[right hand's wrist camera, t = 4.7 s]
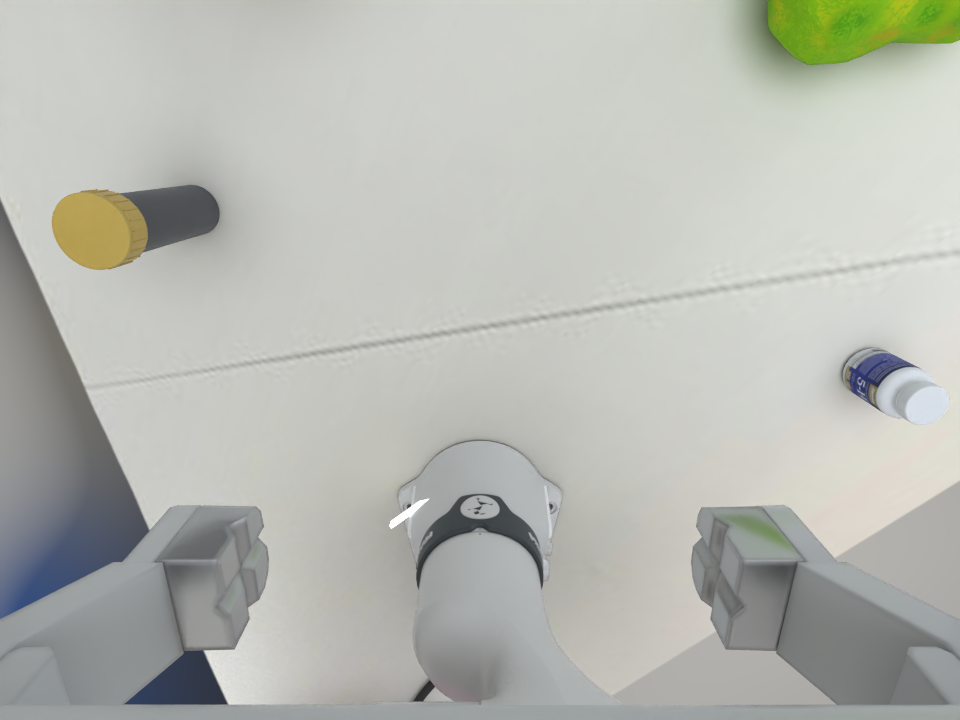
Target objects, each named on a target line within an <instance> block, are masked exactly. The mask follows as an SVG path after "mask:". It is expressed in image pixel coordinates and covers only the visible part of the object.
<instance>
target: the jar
mask: <svg viewBox="0 0 960 720" xmlns="http://www.w3.org/2000/svg"><path fill="white" fill-rule="evenodd" d="M120 195H122V196H124V197H126V198H127V199H129V200H130V201H131V202H132V203H133V204H134V205H135V206H136V207H138V209H139V211H140V212H141V214H142V216H143V217H144V220H145V222H146V226H147V228H148V229H147V232H148V240H147V244H146V247H145V249H144V251H143V252H146V251H149V250H153V249H156V248H159V247H162V246H166V245H169V244H172V243H176V242H179V241H182V240H185V239H189V238H192V237H195V236H199V235H202V234H205V233H208V232H210V231H211V230H213V229H214V227H215V226H216V225H217V223H218V220H219V208H218V205H217V202H216V200H215V199H214V197H213V196H212V195H211V194H210V193H209V192H208V191H207V190H205V189H203V188H201V187H199V186H195V185H186V186H178V187H170V188H162V189H153V190H145V191H137V192H128V193H120ZM143 252H142V253H143Z"/></svg>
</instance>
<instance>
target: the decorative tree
mask: <svg viewBox="0 0 960 720" xmlns="http://www.w3.org/2000/svg"><path fill="white" fill-rule="evenodd" d="M768 28H769V30H770V32H771V33H772V35H773V36H774V37H775V38H776V39H777V40H778V41H779V42H780V43H781V45H782V46H783V47H784V48H785V49H786V50H787V51H788V52H789V53H790V54H791V55H792V56H793V57H794V58H795V59H797V60H799V61H801V62H803V63H805V64H808V65H817V64H833V63H843V62H848V61H850V60H853V59H855V58H858V57H861V56H863V55H865V54H867V53H869V52H872V51H874V50H876V49H878V48H880V47H882V46H884V45H887V44H889V43H892V42H897V43H934V44H937V43H953V42H956V41H958V40H960V0H768Z"/></svg>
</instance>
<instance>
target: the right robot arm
mask: <svg viewBox="0 0 960 720" xmlns="http://www.w3.org/2000/svg"><path fill="white" fill-rule="evenodd" d="M398 502H399V506H400V509H401V513H402V514H401V515H399V516H398V517H396V518H395V519H394V520H392V521H391V523H390V527H391V528H393V527H394V526H396V525H397V524H398V523H400V522H401V521H403V520H404V523H405V527H406V530H407V534H408V537H409V540H410V544H411V547H412V551H413V554H414V558H415V561H416V569H417V573H416V574H417V578H416V579H417V586H418V589H419V591H418V599H417V606H416V613H415V620H414V628H413V645H414V650H415V654H416V657H417V659H418V661H419V664H420V665H421V667H422V669H423V670H424V672H425V674H426V675H427V677H428V678H429V679H430V681H429V682H428V684H427V685H426V686H425V687H424V688H423V689H422V691H421V692H420V693H419V694H418V696H417V697H416V699H415V701H414V702H378V703H373V704H368V705H123V704H124V703H126V702H127V701H128V700H129V699H130V698H132V697H133V696H134V695H135V694H136V693H137V692H139V691H140V690H141V689H142V688H143V687H145V686H146V685H147V684H148V683H149V682H151V681H152V680H153V679H154V678H155V677H156V676H158V675H159V674H160V673H161V672H162V671H164V670H165V669H166V668H167V667H168V666H169V665H171V664H172V663H173V662H174V661H175V660H177V659H178V658H179V657H180V656H181V655H183V651H197V650H232V649H235V647H236V645H237V643H238V641H239V639H240V637H241V635H242V633H243V631H244V629H245V627H246V625H247V623H248V621H249V612H248V607H249V606H251V605H252V604H254V603H255V602H256V601H258V600H259V599H260V596H261V594H262V592H263V590H264V588H265V584H266V579H267V575H268V563H269V557H268V550H267V546H266V545H265V544H264V543H263V542H262V541H261V540H260V539H259V538H258V536H259V534H260V532H261V531H262V529H263V527H264V525H263V519H262V514H261V511H260V510H259V509H258V508H257V507H251V506H200V505H177V506H174V507H171V508H169V509H168V511H167V512H166V513H165V514H164V515H163V516H162V517H161V519H160V520H159V521H158V522H157V523H156V524H155V525H154V526H153V528H152V529H151V530H150V531H149V532H148V533H147V534H146V536H145V537H144V538H143V539H142V540H141V541H140V542H139V544H138V545H137V546H136V547H135V548H134V549H133V550H132V552H131V553H130V554H129V555H128V556H127V557H126V558H125V560H124V561H123V562H113V563H111V564H109V565H107V566H105V567H103V568H101V569H99V570H97V571H95V572H93V573H91V574H89V575H87V576H85V577H83V578H81V579H79V580H77V581H75V582H73V583H71V584H69V585H67V586H65V587H63V588H61V589H59V590H57V591H55V592H53V593H52V594H49V595H48V596H46V597H44V598H42V599H40V600H38V601H36V602H34V603H32V604H30V605H28V606H26V607H24V608H22V609H20V610H18V611H16V612H14V613H12V614H10V615H8V616H6V617H4V618H2V619H0V720H960V619H958V618H956V617H954V616H952V615H950V614H948V613H946V612H944V611H942V610H940V609H938V608H936V607H934V606H932V605H930V604H928V603H926V602H924V601H922V600H920V599H918V598H916V597H914V596H912V595H910V594H908V593H906V592H904V591H902V590H900V589H898V588H896V587H895V586H893V585H891V584H889V583H887V582H885V581H883V580H881V579H879V578H877V577H875V576H873V575H871V574H869V573H867V572H865V571H863V570H861V569H859V568H857V567H855V566H853V565H851V564H849V563H847V562H837V561H836V560H835V558H834V557H833V556H832V555H831V554H830V553H829V552H828V550H827V549H826V548H825V547H824V546H823V545H822V544H821V542H820V541H819V540H818V539H817V538H816V537H815V536H814V535H813V533H812V532H811V531H810V530H809V529H808V528H807V527H806V525H805V524H804V523H803V522H802V521H801V520H800V519H799V517H798V516H797V515H796V514H795V513H794V512H793V511H792V509H791V508H789V507H787V506H785V505H769V506H755V507H702V508H701V510H700V512H699V514H698V518H697V524H696V527H697V529H698V531H699V532H700V534H701V536H702V538H701V539H700V540H699V541H698V542H697V543H696V544H695V545H694V546H693V551H692V559H691V565H692V576H693V581H694V584H695V587H696V590H697V592H698V594H699V596H700V599H701V600H702V601H704V602H705V603H706V604H708V605H709V606H711V607H712V612H711V621H712V623H713V625H714V627H715V629H716V631H717V633H718V635H719V637H720V639H721V641H722V643H723V645H724V647H725V649H727V650H762V651H777V652H776V653H777V654H778V655H779V656H780V657H781V658H782V659H784V660H785V661H786V662H787V663H788V664H790V665H791V666H792V667H793V668H794V669H796V670H797V671H798V672H799V673H800V674H801V675H803V676H804V677H805V678H806V679H807V680H809V681H810V682H811V683H812V684H813V685H814V686H816V687H817V688H818V689H819V690H820V691H822V692H823V693H824V694H825V695H826V696H827V697H829V698H830V699H831V700H832V701H833V702H835V703H836V704H837V705H625V704H623V703H621V702H620V701H618V700H616V699H615V698H613V697H612V696H610V695H609V694H607V693H606V692H605V691H603V690H602V689H601V688H599V687H598V686H597V685H596V684H595V683H593V682H592V681H591V680H590V679H589V678H588V677H587V676H585V675H584V674H583V673H582V672H581V671H580V670H579V669H578V668H577V667H576V665H575V664H574V663H573V662H572V661H571V660H570V659H569V658H568V656H567V655H566V654H565V653H564V651H563V650H562V649H561V647H560V646H559V644H558V643H557V641H556V639H555V637H554V636H553V634H552V631H551V628H550V625H549V622H548V618H547V614H546V610H545V606H544V601H543V596H542V590H541V589H542V586H543V581H547V580H548V578H549V573H550V563H549V561H548V560H546V559H545V558H546V555H547V556H548V555H549V556H550V555H551V553H552V543H551V542H550V541H551V537H552V534H553V530H554V527H555V523H556V520H557V516H558V513H559V509H560V506H561V502H562V492H561V490H560V489H559V488H558V487H557V486H556V485H554V484H553V483H551V482H549V481H547V480H546V479H544V478H542V477H541V476H540V474H539V473H538V472H537V470H536V469H535V468H534V466H533V465H532V464H531V462H530V461H529V460H528V459H527V458H526V457H525V456H523V455H522V454H521V453H519V452H518V451H516V450H515V449H513V448H511V447H508V446H506V445H503V444H500V443H496V442H491V441H469V442H464V443H460V444H457V445H454V446H452V447H449V448H447V449H446V450H444V451H442V452H441V453H439V454H438V455H437V456H436V457H434V458H433V459H432V460H431V461H430V462H429V464H428V465H427V466H426V468H425V469H424V470H423V472H422V473H421V474H420V476H419V477H418V478H416V479H414V480H413V481H411V482H409V483H407V484H406V485H404V486H403V487H402V488H401V489H400V490H399V492H398ZM408 504H411V507H410V506H408ZM549 504H552V506H550V507H549ZM434 687H436V688H437V689H438V690H439V691H440V692H441V693H443V694H444V695H445V696H447V697H448V698H450V699H451V700H453V701H455V702H423V700H424V699H425V698H426V696H427V695H428V694H429V693H430V692H431V691H432V689H433V688H434Z"/></svg>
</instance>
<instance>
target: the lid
mask: <svg viewBox="0 0 960 720" xmlns="http://www.w3.org/2000/svg"><path fill="white" fill-rule="evenodd" d="M52 228H53V233H54V236H55V239H56V241H57V243H58V245H59V246H60V248H61V249H62V250H63V252H64V253H65V254H66V255H67V256H68V257H69V258H71V259H72V260H73V261H75V262H76V263H78V264H80V265H82V266H84V267H87V268H90V269H96V270H104V269H112V268H115V267H119V266H122V265H125V264H128V263H131V262H133V260H135V259H136V258H138V257H140V255H141V253H142V252H143V251H144V249H145V247H146V244H147V240H148V232H147V229H148V228H147V226H146V222H145V220H144V217H143V216H142V214H141V212H140V211H139V209H138V207H136V206H135V205H134V204H133V203H132V202H131V201H130V200H129V199H127V198H126V197H124V196H122V195H120V194H119V193H115V192H112V191H108V190H98V189H97V190H87V191H81V192H80V193H74V194H71V195H68V196H66V197H65V198H63V199H62V200H61V201H60V202H59V203H58V204H57V206H56V208H55V210H54V212H53V216H52Z"/></svg>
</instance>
